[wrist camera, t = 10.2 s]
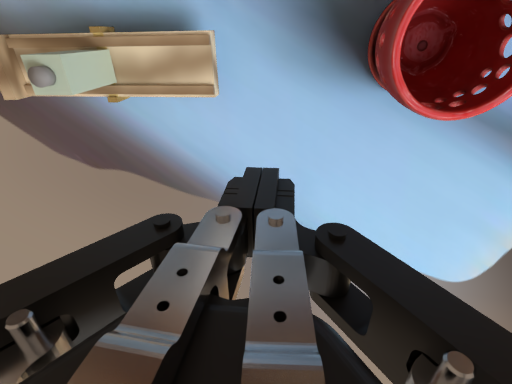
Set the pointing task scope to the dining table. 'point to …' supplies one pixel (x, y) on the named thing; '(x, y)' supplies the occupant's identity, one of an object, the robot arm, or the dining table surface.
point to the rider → (69, 71)
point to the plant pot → (443, 55)
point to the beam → (122, 62)
